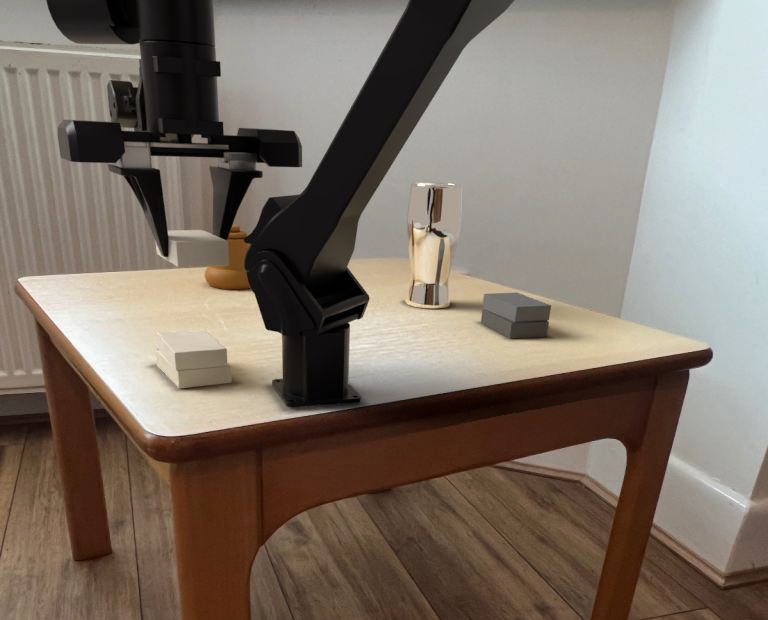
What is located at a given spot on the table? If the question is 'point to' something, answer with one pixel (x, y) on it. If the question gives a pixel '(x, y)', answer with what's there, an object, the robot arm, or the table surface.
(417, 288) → the beer glass
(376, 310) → the table surface
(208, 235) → the off-white rectangular block
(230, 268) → the ornamental finial
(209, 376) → the white books
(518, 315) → the grey books
